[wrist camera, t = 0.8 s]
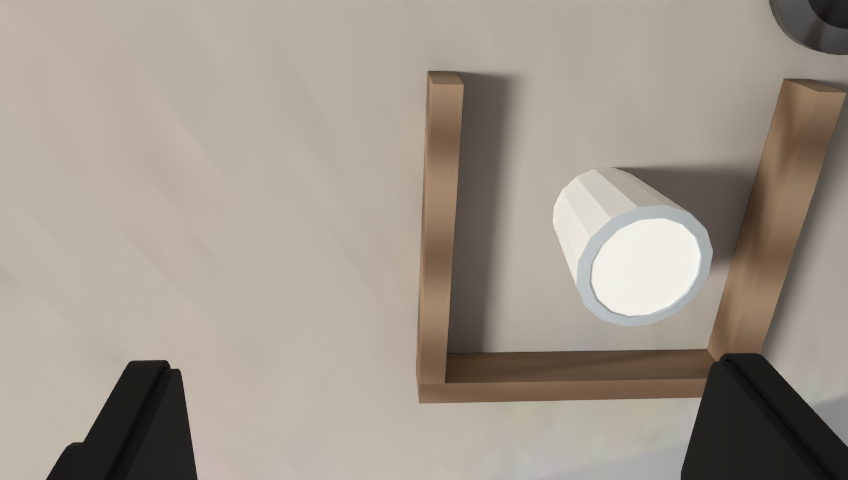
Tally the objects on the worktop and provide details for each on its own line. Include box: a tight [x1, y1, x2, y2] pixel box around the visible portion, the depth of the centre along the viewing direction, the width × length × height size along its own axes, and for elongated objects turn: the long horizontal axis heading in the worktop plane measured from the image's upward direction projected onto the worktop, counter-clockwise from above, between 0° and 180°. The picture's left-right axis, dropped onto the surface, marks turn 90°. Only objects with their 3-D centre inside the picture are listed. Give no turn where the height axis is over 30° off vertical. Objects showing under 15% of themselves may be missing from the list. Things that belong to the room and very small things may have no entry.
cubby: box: [416, 71, 847, 403], centre depth 37 cm, size 20×21×3 cm
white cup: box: [553, 168, 713, 327], centre depth 34 cm, size 7×7×7 cm
